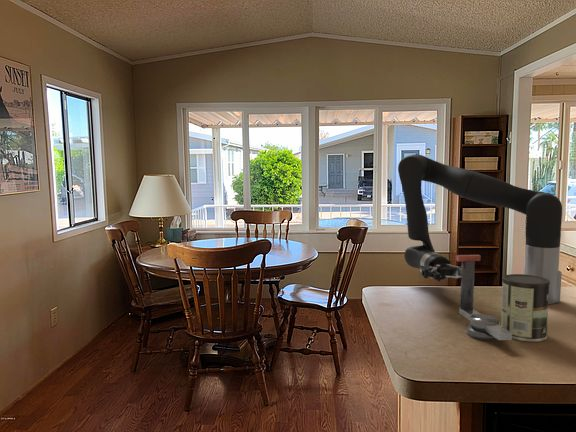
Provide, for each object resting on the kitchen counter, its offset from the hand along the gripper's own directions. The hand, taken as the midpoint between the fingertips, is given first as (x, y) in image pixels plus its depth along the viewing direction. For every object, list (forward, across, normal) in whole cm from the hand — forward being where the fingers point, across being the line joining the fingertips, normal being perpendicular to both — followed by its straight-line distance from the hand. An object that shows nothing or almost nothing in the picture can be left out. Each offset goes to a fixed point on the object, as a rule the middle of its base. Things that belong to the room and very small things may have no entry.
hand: (454, 277), depth 126 cm
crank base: (+18, +1, +10) cm, 20 cm away
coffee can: (+18, +11, +10) cm, 23 cm away
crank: (+17, +1, +8) cm, 19 cm away
